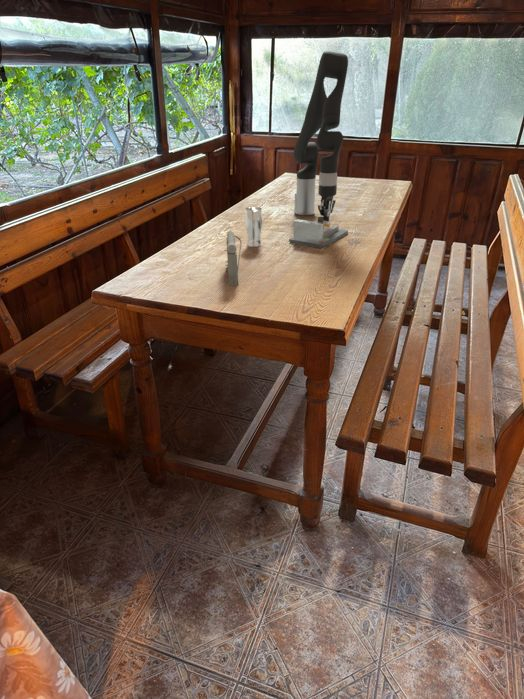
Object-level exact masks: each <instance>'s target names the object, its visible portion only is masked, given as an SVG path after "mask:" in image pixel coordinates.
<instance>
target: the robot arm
mask: <svg viewBox="0 0 524 699" xmlns="http://www.w3.org/2000/svg"><path fill="white" fill-rule="evenodd" d="M348 68H349V57H348V56H347V54H345V53H341V52H337V51H331V50H325V51H324V52H322V54H321V56H320V59H319V64H318V66H317V73H316V77H315V80H314V85H313V89H312V92H311V95H310V98H309V102H308V105H307V109H306V111H305V116H304V119H303V123H302V127H301V130H300V132H299V135H298V137H297V140H296V142H295V144H294V149H293V160H294V162H296V163H297V164H305V166H304V167H303V168H301V169H299V170H298V171H297V172H296V191H295V192H296V193H295V194H294V208H293V209H294V214H296V215H299V216H312V215H315V204H316V181H317V180H316V177H317V172H318V160H319V150H320V151H333V152H332V154H328V155H326V156H322V157H321V158H320V161H319V175H318V195H319V196H320V198H321V199H320V204H318V205H317V209H318V212H319V215H320V217H324V219H323V220H324V221H330V216H331V214H332V213H333V211H334V207H335V205H336V199H334V197H335V196H336V195H337V190H338V189H337V187H338V164H339V163H338V161H339V156H340V152H341V148H342V146H343V144H344V134H343V133H342V132H341V131H339V130H334V129H337V128H338V127H339V126H340V122H341V111H342V110H341V108H342V100H343V94H344V90H345V84H346V80H347V75H348ZM325 78H328V79H333V80H334V79H335V80H337V81H336V84H335V86H334V87H333V88H334V89H333V90H332V91H331V92H330V94H329V95H328V96H327V93H326V88H325V84H324V82H325ZM317 132H318V133H317ZM316 133H317V137H316V142H315V141H311V139H312V138H313V137H314V136H315V134H316Z"/></svg>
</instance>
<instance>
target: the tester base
mask: <svg viewBox="0 0 524 699" xmlns="http://www.w3.org/2000/svg"><path fill="white" fill-rule="evenodd" d="M339 227H340V226H339V225H335V226H334V227H330V230H328V231H326V232H324V233H323V243H321V244H314V243H308V242H302V241H296V240H293V237H290V238H289V240H288V241H289V242H290V244H293V243H295V244H294V245H299V244H301V245H300V246H305V245H307V246H306V247H310V246H313V247H312V248H316V247H318V248H317V249H322V248H324V249H326V248H327V247H329V246H331V245H332V244H334V243H335V242H336V241H340V239H342V238H343V237H345V236H347V235H348V234H349V230H347V229H342V228H341V229H340V228H339ZM330 244H331V245H330ZM325 247H326V248H325Z"/></svg>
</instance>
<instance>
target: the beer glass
mask: <svg viewBox="0 0 524 699" xmlns="http://www.w3.org/2000/svg"><path fill="white" fill-rule="evenodd" d="M244 222H245V229H246V234H247V242H246V246H247V247H249V248H259V247H261V246H262V245H263V244H262V239H261V238H262V237H261V234H262V233H261V232H262V228H263V227H262V226H263V210H262V207H261V206H248V207H245V211H244ZM258 246H259V247H258Z"/></svg>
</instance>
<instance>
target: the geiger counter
mask: <svg viewBox="0 0 524 699" xmlns="http://www.w3.org/2000/svg"><path fill="white" fill-rule="evenodd" d="M226 234H227V235H226V236H227V237H226V250H225V249H224V250H223V251H224V252H226V254H227V255H226V256H227V261H226V263H227V264H225V266H226V267H225V268H224V269H225V270H226V271H225V272H226V273H227V272H228V285H229V286H238V285H239V275H238V274H239V268H240V267H239V266H240V259H241V250H242V240H241V238H240V237H238V236H237V235H235V234H234V231H232V230H229V231H227V233H226ZM236 239H238V240H239V242H240V244H239V252H238V254H237V244H236Z"/></svg>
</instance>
